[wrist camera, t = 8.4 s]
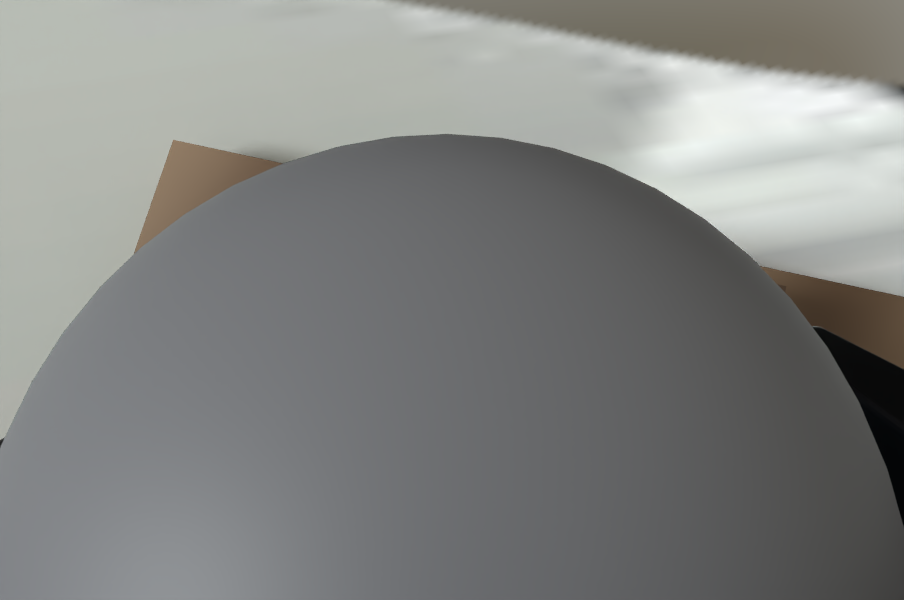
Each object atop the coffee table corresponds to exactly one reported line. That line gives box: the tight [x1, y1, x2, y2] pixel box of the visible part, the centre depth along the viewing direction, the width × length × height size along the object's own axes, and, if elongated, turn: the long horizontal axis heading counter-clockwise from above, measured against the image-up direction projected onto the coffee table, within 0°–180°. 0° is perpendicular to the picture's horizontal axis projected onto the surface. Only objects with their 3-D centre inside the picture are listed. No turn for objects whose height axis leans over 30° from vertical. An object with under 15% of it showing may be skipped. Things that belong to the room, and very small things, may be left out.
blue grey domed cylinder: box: [0, 134, 904, 600], centre depth 9 cm, size 6×6×13 cm
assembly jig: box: [134, 140, 904, 369], centre depth 15 cm, size 18×12×4 cm, turn 76°
